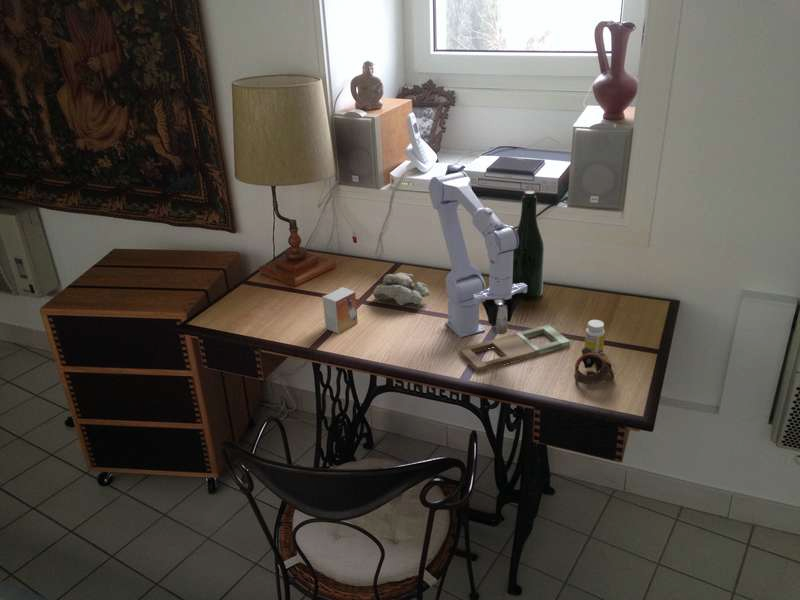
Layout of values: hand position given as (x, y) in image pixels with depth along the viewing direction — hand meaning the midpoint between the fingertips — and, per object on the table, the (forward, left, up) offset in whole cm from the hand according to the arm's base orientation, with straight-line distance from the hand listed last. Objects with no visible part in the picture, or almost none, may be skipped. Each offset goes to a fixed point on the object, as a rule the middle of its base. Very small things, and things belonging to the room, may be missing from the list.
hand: (499, 321), depth 176 cm
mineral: (-40, -10, -10) cm, 43 cm away
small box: (-34, -32, -10) cm, 48 cm away
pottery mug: (+20, +15, -10) cm, 27 cm away
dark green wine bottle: (-26, +25, -10) cm, 37 cm away
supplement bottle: (+10, +23, -10) cm, 27 cm away
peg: (0, 0, -2) cm, 3 cm away
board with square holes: (0, +5, -10) cm, 11 cm away
